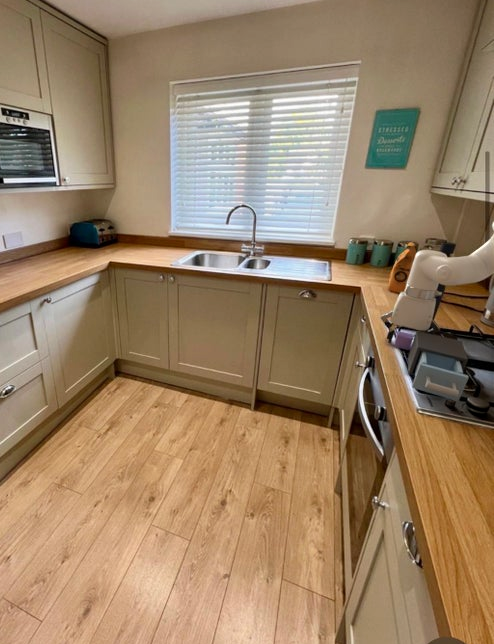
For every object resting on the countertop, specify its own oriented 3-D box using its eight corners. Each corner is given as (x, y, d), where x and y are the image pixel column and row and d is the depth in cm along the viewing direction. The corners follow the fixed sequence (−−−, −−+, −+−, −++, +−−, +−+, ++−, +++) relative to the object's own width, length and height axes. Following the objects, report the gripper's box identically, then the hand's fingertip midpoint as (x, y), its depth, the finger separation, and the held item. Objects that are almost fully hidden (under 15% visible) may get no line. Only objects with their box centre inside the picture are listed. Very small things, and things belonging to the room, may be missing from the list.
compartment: (456, 387, 86) (468, 359, 82) (408, 374, 91) (417, 347, 87) (451, 367, 95) (461, 341, 91) (407, 356, 100) (416, 330, 96)
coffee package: (383, 290, 155) (396, 244, 147) (388, 284, 164) (401, 240, 155) (408, 295, 149) (423, 247, 141) (412, 289, 158) (426, 243, 150)
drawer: (461, 413, 75) (472, 388, 73) (412, 398, 80) (421, 374, 77) (453, 380, 87) (462, 358, 85) (411, 368, 92) (419, 347, 89)
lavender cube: (409, 350, 103) (412, 339, 101) (394, 346, 105) (397, 335, 103) (408, 345, 106) (412, 334, 105) (394, 341, 108) (398, 330, 107)
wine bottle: (434, 325, 121) (464, 244, 109) (427, 329, 118) (456, 246, 106) (415, 318, 126) (442, 240, 114) (407, 322, 122) (434, 242, 111)
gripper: (453, 294, 97) (434, 347, 104) (386, 283, 106) (372, 332, 112) (457, 302, 91) (435, 358, 98) (385, 289, 100) (370, 341, 107)
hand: (402, 344), depth 105 cm, fingers open, 6 cm apart
